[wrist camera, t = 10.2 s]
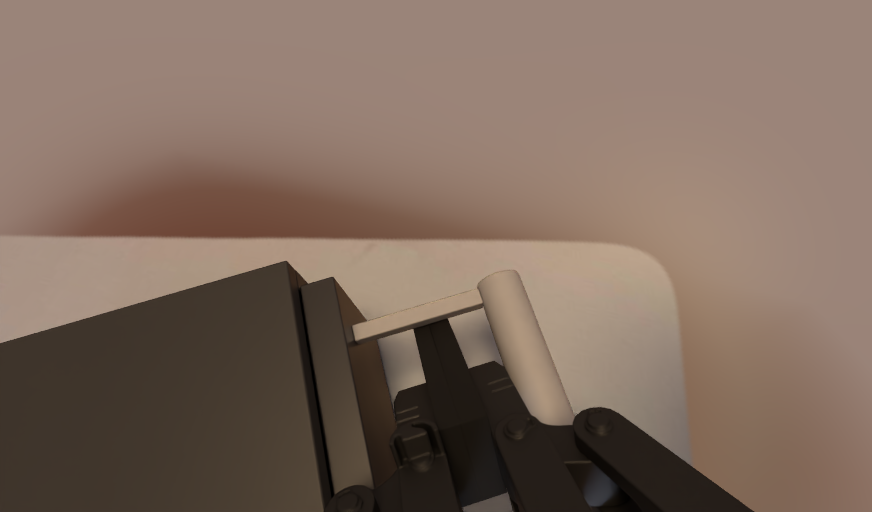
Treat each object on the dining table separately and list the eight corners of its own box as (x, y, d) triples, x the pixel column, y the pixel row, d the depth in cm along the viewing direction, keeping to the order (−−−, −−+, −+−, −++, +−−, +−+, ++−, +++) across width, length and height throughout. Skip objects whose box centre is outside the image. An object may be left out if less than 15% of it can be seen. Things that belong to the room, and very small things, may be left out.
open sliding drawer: (501, 291, 22) (509, 224, 16) (601, 565, 17) (669, 619, 11) (92, 413, 21) (-64, 391, 15) (79, 734, 17) (-158, 892, 10)
